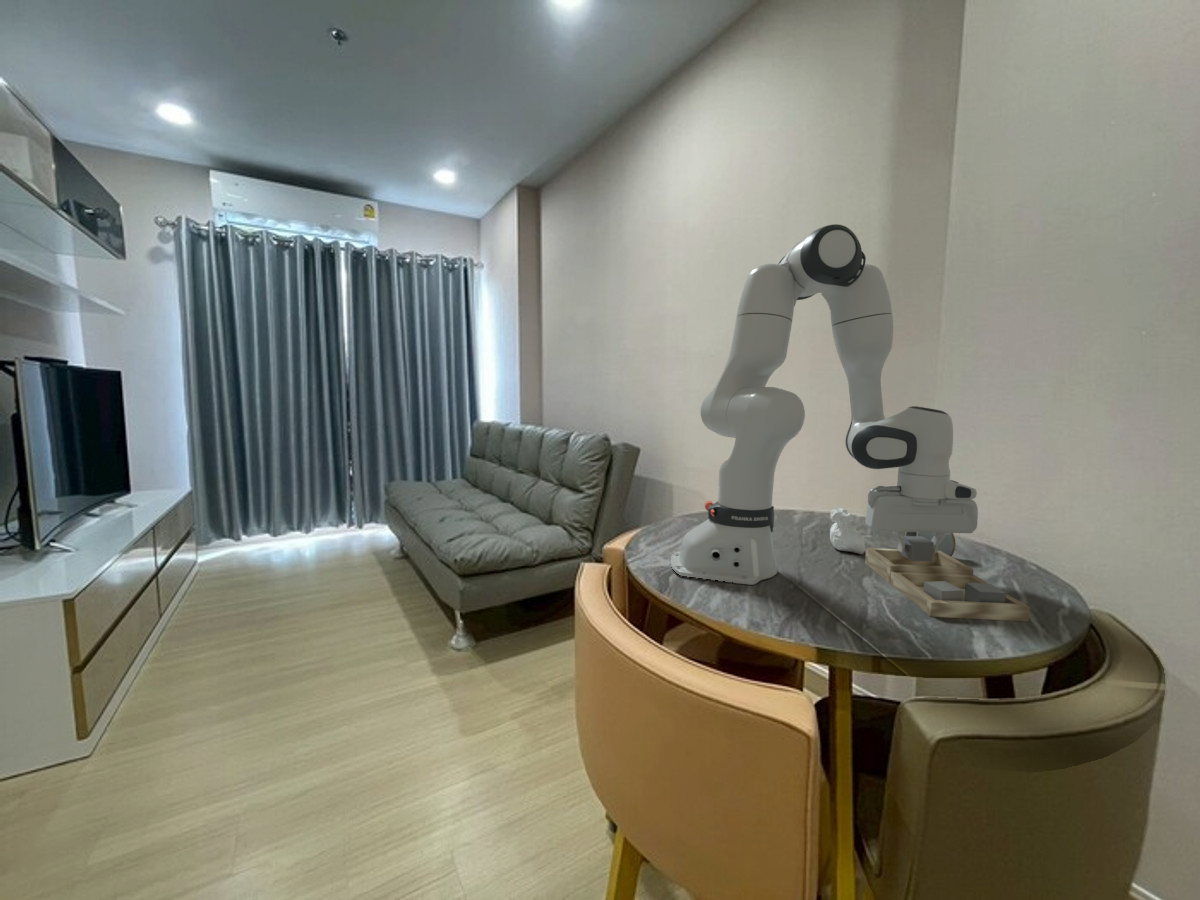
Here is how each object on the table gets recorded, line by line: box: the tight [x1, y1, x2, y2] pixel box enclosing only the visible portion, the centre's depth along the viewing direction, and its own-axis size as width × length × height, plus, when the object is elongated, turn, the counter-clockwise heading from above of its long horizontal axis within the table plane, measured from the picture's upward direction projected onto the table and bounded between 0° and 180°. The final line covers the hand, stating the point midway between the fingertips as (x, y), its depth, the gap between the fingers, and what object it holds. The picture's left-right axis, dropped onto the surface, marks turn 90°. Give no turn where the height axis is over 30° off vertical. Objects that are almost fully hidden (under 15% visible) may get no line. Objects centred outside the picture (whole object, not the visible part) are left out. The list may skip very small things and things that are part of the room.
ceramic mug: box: [905, 532, 956, 557], centre depth 114 cm, size 11×8×8 cm
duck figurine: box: [829, 507, 866, 555], centre depth 118 cm, size 12×8×11 cm
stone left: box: [924, 581, 964, 601], centre depth 85 cm, size 4×4×4 cm
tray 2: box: [889, 572, 1031, 622], centre depth 88 cm, size 15×14×3 cm
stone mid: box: [901, 535, 934, 561], centre depth 101 cm, size 4×4×4 cm
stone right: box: [964, 583, 1007, 603], centre depth 84 cm, size 4×4×4 cm
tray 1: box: [864, 547, 974, 584], centre depth 101 cm, size 15×11×4 cm
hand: (917, 552), depth 101 cm, fingers closed on stone mid, 4 cm apart
